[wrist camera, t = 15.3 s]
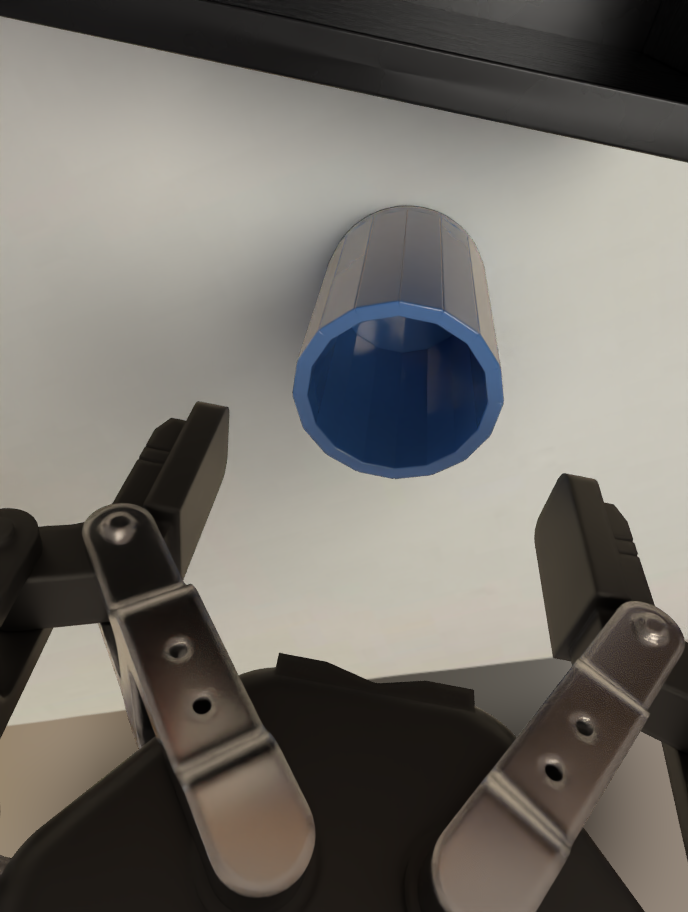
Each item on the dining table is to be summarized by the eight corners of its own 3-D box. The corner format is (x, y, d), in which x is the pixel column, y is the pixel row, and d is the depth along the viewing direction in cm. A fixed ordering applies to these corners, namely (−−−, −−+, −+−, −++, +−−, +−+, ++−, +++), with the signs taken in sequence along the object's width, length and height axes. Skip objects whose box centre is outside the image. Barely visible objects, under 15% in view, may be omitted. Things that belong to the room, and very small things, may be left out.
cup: (459, 366, 26) (467, 494, 20) (318, 337, 26) (283, 457, 20) (506, 224, 23) (534, 328, 16) (341, 189, 22) (307, 281, 16)
